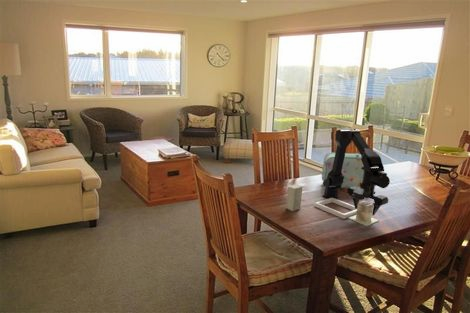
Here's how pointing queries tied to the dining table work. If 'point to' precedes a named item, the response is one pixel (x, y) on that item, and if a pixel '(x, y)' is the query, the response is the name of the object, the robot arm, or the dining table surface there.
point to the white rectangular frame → (332, 211)
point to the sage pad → (363, 221)
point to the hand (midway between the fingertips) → (364, 212)
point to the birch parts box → (364, 211)
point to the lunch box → (346, 169)
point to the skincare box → (294, 197)
